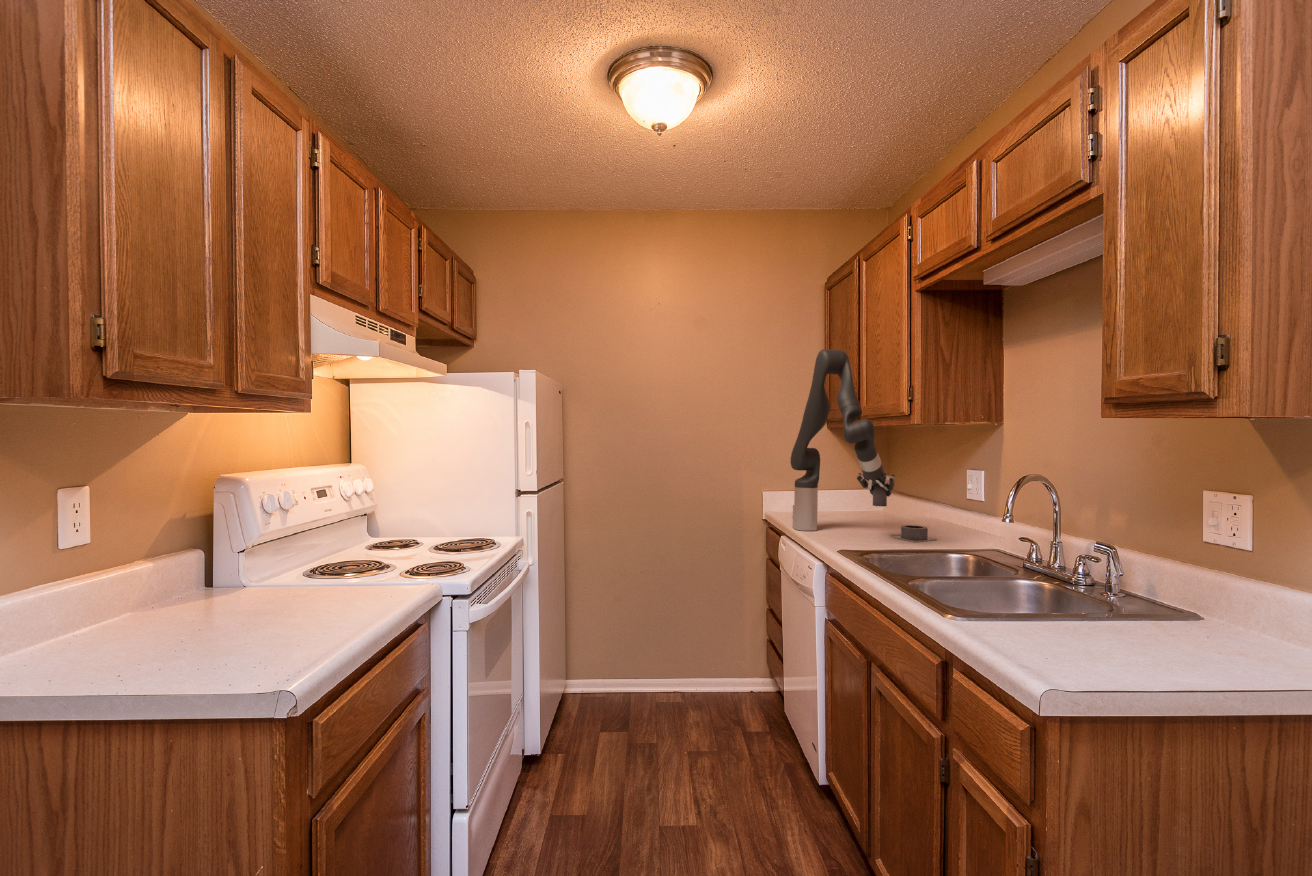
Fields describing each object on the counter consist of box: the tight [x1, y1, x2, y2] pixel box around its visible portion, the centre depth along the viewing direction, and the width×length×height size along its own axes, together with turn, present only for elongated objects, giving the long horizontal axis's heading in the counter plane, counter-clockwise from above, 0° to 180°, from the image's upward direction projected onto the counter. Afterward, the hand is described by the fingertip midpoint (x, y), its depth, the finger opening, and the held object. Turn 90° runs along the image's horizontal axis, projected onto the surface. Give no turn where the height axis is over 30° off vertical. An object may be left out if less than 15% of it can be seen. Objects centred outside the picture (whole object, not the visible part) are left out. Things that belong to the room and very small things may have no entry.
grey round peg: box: [872, 484, 888, 507], centre depth 236 cm, size 5×5×10 cm
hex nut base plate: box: [891, 524, 938, 543], centre depth 233 cm, size 11×11×4 cm
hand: (881, 494), depth 237 cm, fingers closed on grey round peg, 5 cm apart
